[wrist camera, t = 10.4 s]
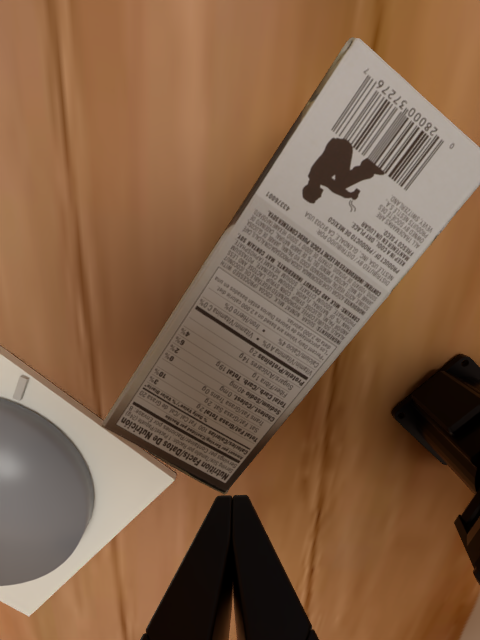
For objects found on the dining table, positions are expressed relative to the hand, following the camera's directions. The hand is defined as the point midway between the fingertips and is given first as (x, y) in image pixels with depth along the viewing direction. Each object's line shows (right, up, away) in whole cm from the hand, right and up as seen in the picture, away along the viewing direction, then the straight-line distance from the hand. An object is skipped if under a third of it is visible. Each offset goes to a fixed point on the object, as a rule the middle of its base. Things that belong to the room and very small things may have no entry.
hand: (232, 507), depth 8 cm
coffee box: (+6, +13, +5) cm, 15 cm away
